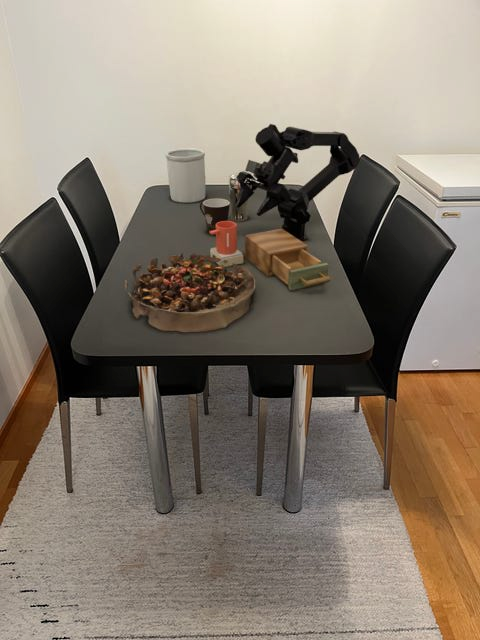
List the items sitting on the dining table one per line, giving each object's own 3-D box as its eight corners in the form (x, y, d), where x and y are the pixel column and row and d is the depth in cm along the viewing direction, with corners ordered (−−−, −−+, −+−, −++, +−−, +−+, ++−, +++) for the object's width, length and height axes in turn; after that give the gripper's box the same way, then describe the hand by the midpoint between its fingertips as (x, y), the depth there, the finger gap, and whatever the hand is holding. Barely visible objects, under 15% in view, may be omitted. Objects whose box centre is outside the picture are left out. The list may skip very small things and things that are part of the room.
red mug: (228, 245, 150) (228, 219, 146) (240, 251, 146) (240, 225, 142) (205, 252, 146) (204, 226, 141) (217, 258, 142) (216, 232, 137)
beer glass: (246, 222, 174) (247, 179, 167) (227, 221, 176) (226, 178, 168) (250, 215, 180) (250, 173, 172) (231, 214, 181) (231, 172, 174)
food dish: (141, 268, 145) (139, 243, 141) (255, 271, 145) (256, 246, 141) (110, 330, 115) (106, 299, 111) (254, 334, 114) (256, 304, 110)
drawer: (335, 288, 131) (337, 270, 128) (299, 297, 127) (300, 278, 124) (300, 262, 145) (301, 245, 142) (266, 270, 140) (266, 252, 138)
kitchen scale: (231, 253, 152) (231, 243, 151) (243, 263, 146) (243, 253, 145) (209, 257, 150) (209, 248, 148) (220, 267, 144) (220, 258, 142)
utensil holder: (164, 202, 193) (160, 156, 183) (174, 191, 205) (170, 146, 196) (202, 204, 191) (200, 157, 182) (209, 192, 203) (208, 148, 194)
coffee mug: (233, 235, 165) (233, 205, 159) (208, 238, 162) (207, 208, 157) (222, 223, 174) (221, 194, 169) (198, 226, 172) (197, 197, 166)
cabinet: (306, 267, 144) (307, 245, 140) (267, 276, 139) (268, 253, 135) (280, 249, 155) (281, 228, 151) (244, 256, 150) (244, 235, 146)
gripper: (241, 142, 146) (211, 187, 145) (285, 155, 133) (253, 204, 133) (261, 166, 154) (233, 208, 154) (304, 179, 141) (274, 225, 141)
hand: (247, 211), depth 145 cm, fingers open, 9 cm apart
